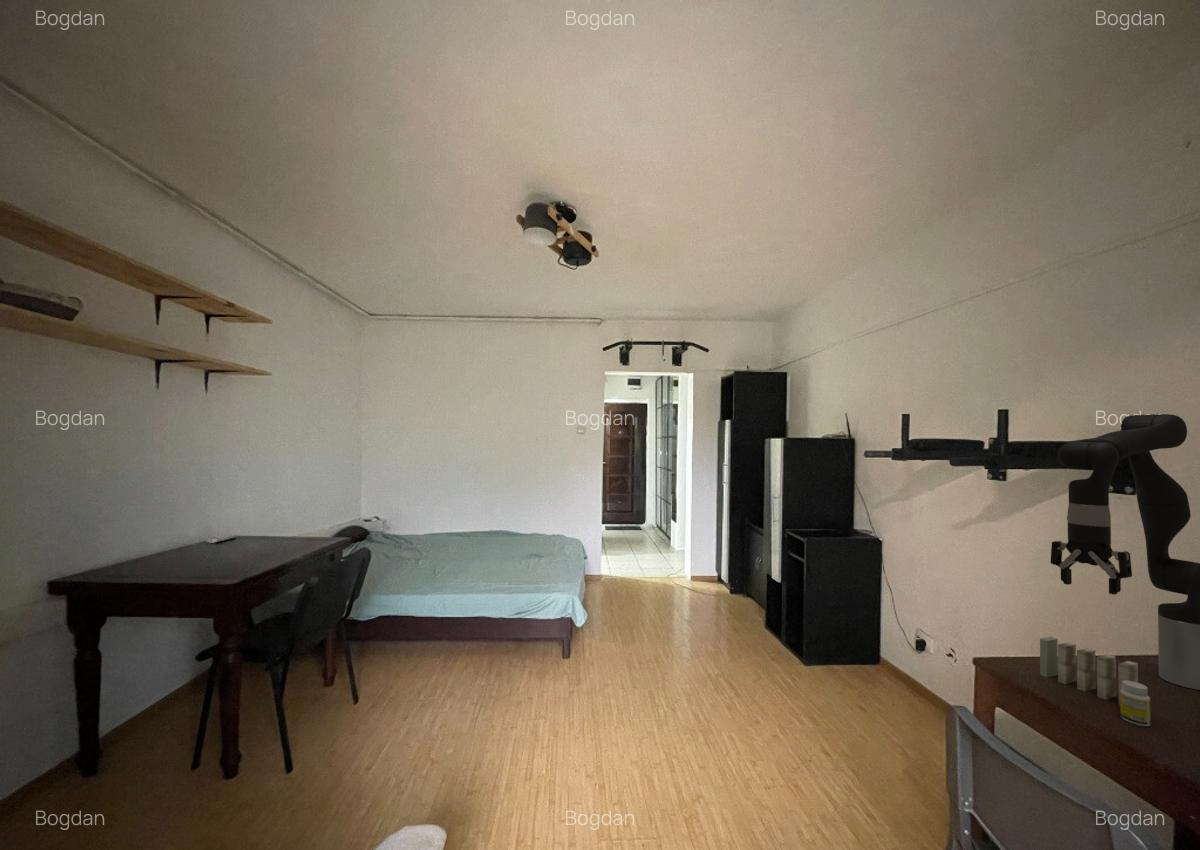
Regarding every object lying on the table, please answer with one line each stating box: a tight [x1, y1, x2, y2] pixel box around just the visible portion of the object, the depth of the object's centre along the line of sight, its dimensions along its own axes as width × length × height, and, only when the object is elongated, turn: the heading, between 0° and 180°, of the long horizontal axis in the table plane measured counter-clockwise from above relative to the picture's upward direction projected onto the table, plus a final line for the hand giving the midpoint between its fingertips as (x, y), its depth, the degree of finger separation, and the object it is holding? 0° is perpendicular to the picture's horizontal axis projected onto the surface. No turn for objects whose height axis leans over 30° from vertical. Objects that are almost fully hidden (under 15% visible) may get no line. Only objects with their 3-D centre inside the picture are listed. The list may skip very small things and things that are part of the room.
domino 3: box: [1076, 647, 1097, 693], centre depth 127 cm, size 5×2×10 cm, turn 112°
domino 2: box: [1057, 641, 1077, 685], centre depth 131 cm, size 5×2×10 cm, turn 112°
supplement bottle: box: [1119, 680, 1152, 727], centre depth 112 cm, size 5×5×8 cm
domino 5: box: [1117, 660, 1139, 706], centre depth 120 cm, size 5×2×10 cm, turn 112°
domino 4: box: [1096, 653, 1117, 700], centre depth 124 cm, size 5×2×10 cm, turn 112°
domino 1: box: [1039, 636, 1059, 679], centre depth 135 cm, size 5×2×10 cm, turn 112°
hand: (1089, 588), depth 119 cm, fingers open, 8 cm apart
